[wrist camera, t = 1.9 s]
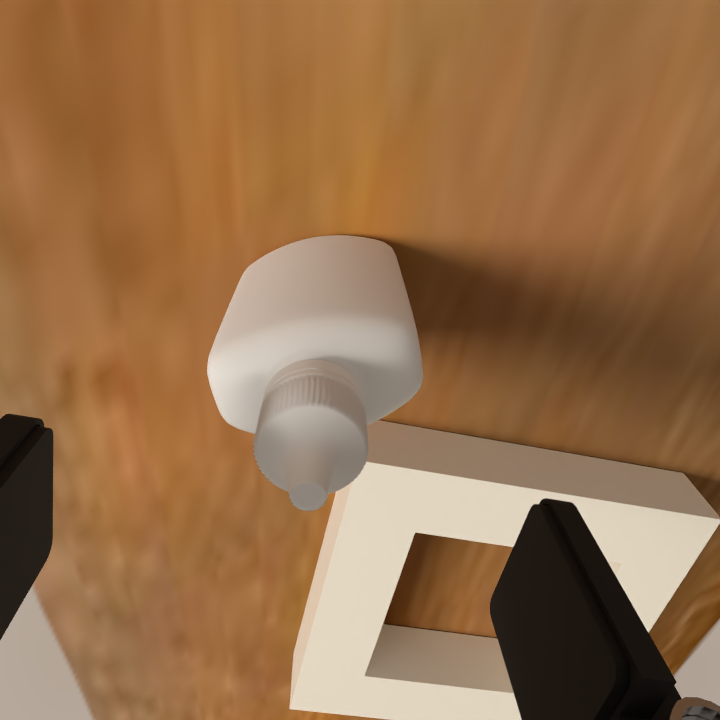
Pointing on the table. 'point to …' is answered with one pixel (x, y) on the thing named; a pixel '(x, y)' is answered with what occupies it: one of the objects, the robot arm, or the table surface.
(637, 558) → the cream square frame
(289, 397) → the eye dropper bottle
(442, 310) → the table surface
